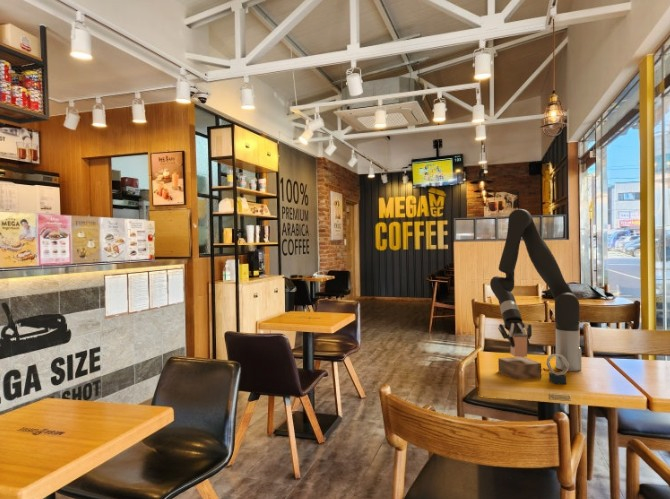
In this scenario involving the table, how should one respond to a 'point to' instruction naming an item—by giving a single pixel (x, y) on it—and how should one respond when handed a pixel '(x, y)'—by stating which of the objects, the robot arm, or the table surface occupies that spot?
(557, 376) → the watch
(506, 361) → the walnut block
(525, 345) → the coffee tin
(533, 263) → the robot arm
